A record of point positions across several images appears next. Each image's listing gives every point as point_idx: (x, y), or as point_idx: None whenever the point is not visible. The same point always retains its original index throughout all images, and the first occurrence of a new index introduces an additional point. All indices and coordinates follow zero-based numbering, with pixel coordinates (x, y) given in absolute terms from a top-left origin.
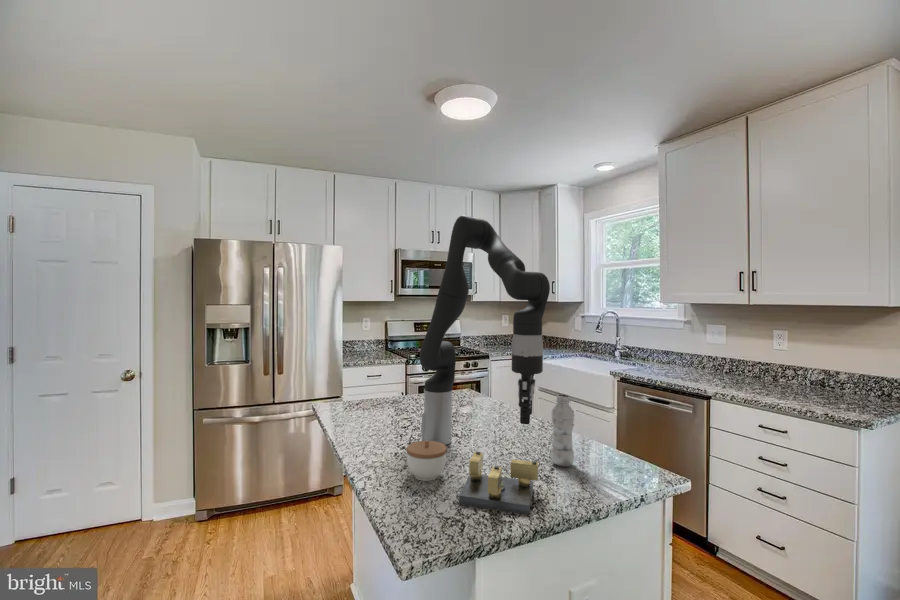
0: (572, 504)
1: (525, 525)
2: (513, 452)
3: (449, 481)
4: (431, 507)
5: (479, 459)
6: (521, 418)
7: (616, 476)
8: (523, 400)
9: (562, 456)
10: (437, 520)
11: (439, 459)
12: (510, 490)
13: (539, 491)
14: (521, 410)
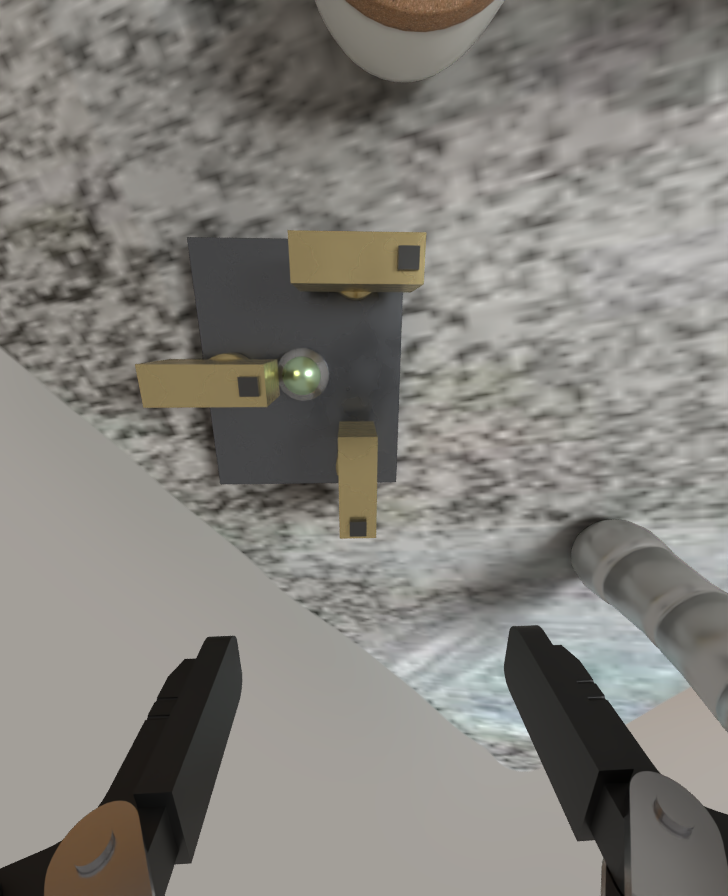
0: (330, 570)
1: (167, 469)
2: (710, 375)
3: (373, 151)
4: (132, 138)
5: (326, 282)
6: (191, 679)
7: None
8: (593, 761)
9: (588, 569)
10: (59, 194)
11: (348, 15)
12: (300, 419)
13: (383, 490)
14: (155, 766)
